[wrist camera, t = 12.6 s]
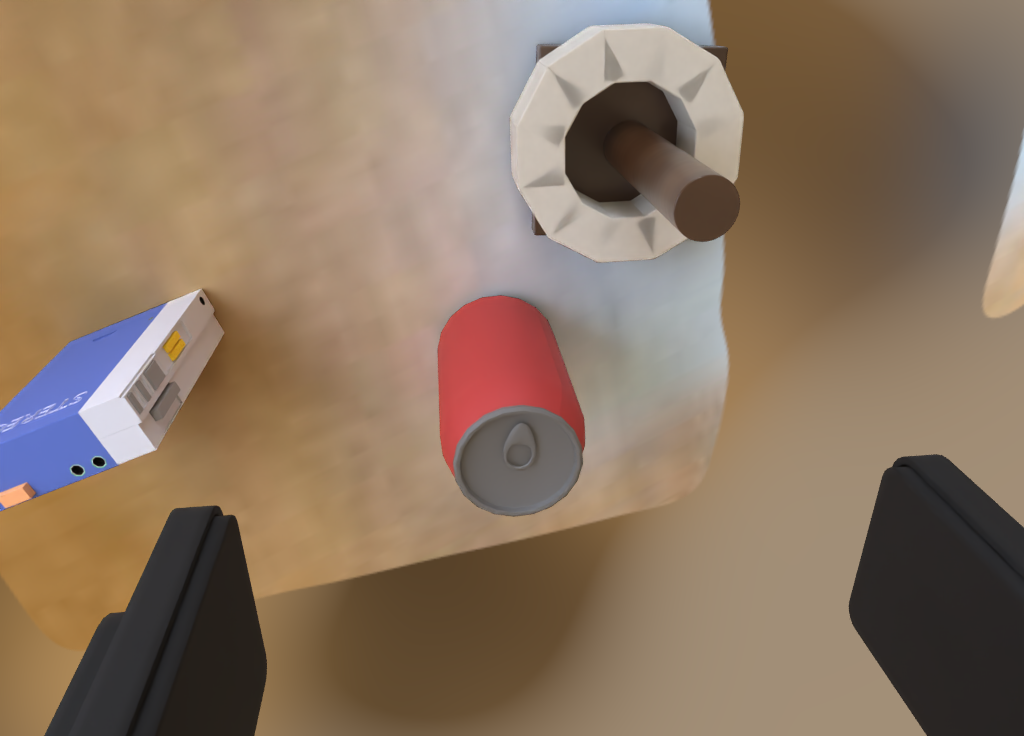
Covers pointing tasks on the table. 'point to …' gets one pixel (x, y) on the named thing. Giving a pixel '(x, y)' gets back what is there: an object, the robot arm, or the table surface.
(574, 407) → the beer can
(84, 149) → the table surface
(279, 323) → the table surface
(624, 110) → the spindle
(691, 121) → the tape roll
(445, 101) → the table surface
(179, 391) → the walkman
